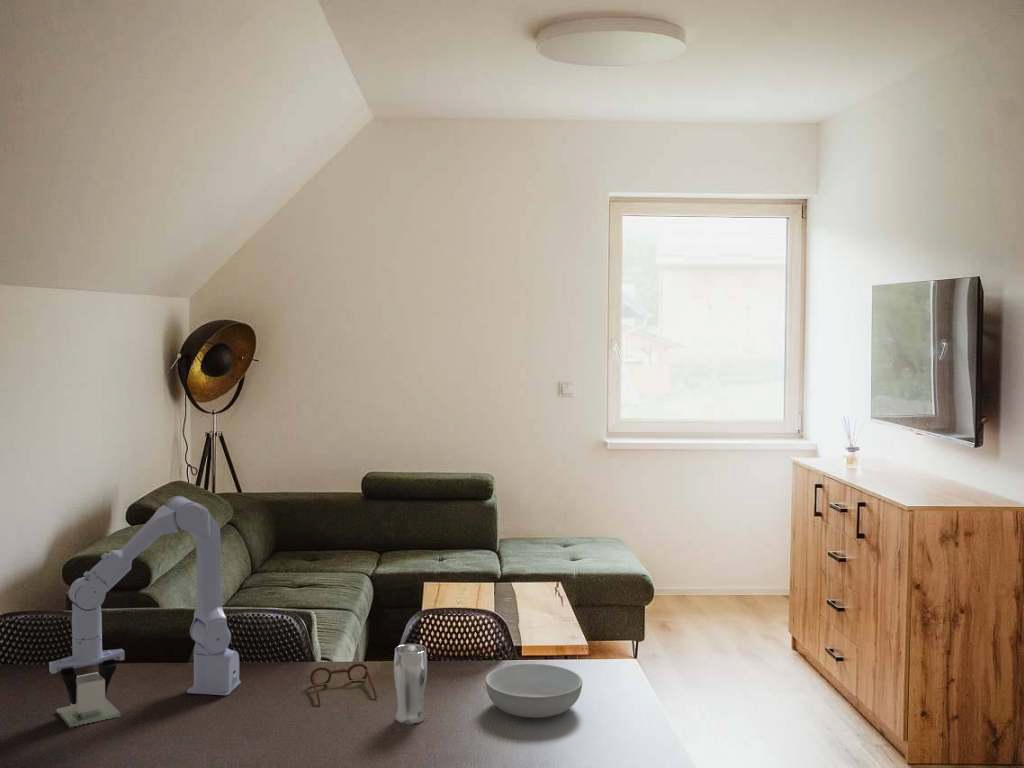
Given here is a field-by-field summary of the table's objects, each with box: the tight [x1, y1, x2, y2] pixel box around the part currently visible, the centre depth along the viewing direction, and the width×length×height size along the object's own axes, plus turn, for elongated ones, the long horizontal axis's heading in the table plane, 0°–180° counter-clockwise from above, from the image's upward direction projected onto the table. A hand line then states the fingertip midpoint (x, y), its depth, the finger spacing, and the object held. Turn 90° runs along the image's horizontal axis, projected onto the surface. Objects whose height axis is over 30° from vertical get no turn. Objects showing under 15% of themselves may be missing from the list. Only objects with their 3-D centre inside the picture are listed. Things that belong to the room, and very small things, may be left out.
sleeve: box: [70, 671, 105, 713], centre depth 212 cm, size 5×5×6 cm
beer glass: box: [393, 643, 428, 725], centre depth 212 cm, size 7×7×15 cm
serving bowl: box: [485, 663, 583, 719], centre depth 218 cm, size 21×21×7 cm
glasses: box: [309, 662, 378, 706], centre depth 226 cm, size 13×13×5 cm
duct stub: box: [56, 698, 121, 729], centre depth 212 cm, size 10×10×4 cm
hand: (88, 699), depth 212 cm, fingers closed on sleeve, 5 cm apart
